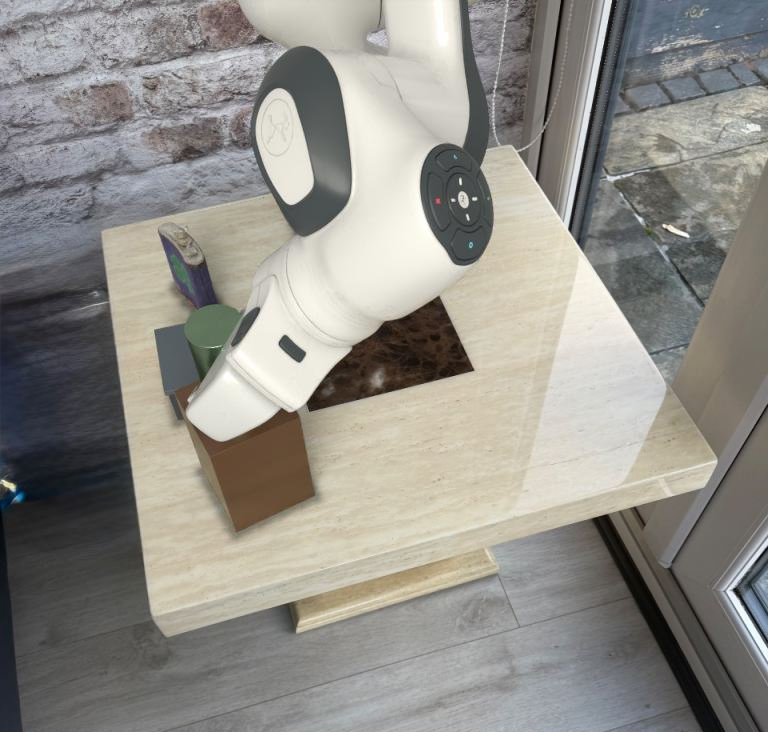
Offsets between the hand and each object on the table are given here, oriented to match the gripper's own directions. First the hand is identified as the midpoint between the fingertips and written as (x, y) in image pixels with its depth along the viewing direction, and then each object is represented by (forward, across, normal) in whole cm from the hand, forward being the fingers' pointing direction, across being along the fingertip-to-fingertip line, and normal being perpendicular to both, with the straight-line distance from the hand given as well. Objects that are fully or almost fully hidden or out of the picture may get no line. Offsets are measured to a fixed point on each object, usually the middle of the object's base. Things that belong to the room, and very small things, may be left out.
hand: (221, 361), depth 73 cm
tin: (+4, 0, +4) cm, 6 cm away
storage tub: (+22, -10, +5) cm, 24 cm away
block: (+13, 0, +13) cm, 19 cm away
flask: (+26, -23, +1) cm, 35 cm away
